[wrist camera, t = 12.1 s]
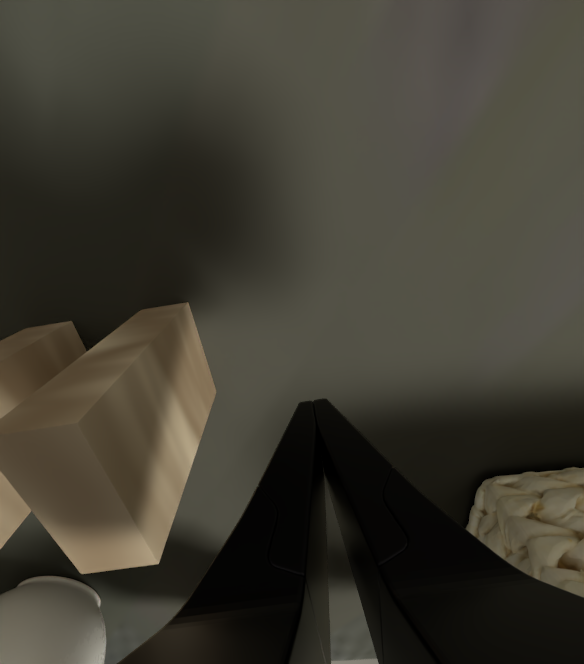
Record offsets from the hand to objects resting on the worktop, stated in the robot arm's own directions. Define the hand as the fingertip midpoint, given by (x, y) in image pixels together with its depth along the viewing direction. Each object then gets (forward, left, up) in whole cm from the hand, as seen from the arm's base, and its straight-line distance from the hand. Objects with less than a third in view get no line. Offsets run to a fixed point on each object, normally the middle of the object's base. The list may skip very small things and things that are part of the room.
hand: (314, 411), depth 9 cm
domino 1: (-3, +5, -6) cm, 8 cm away
